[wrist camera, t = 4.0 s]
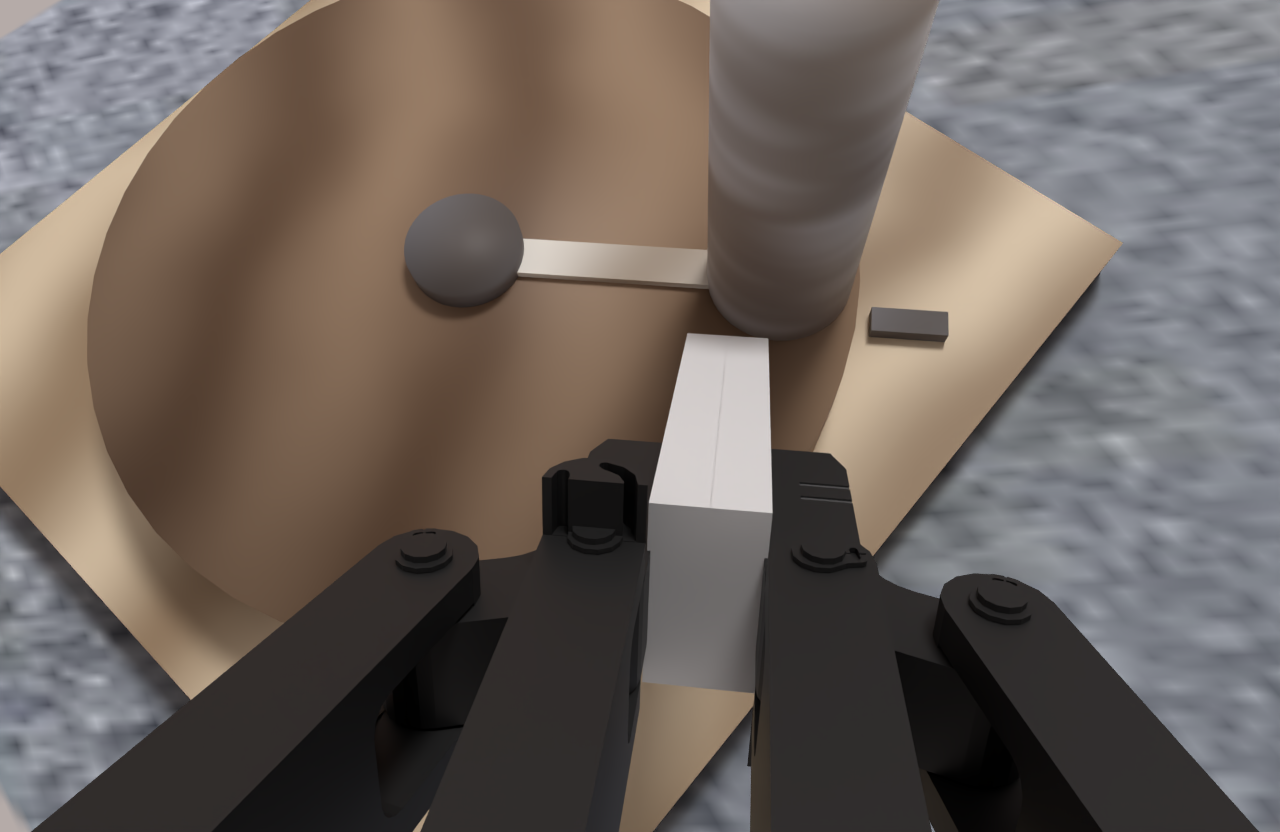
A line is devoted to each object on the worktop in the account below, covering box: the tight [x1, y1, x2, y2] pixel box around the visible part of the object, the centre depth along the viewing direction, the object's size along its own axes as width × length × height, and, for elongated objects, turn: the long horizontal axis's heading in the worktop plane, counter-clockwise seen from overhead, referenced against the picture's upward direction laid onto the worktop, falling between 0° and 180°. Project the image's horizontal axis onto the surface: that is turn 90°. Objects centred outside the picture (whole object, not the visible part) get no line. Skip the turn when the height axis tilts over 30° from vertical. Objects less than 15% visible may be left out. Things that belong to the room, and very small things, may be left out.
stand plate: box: [0, 0, 1123, 832], centre depth 27 cm, size 25×25×2 cm
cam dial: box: [87, 0, 939, 623], centre depth 20 cm, size 20×20×12 cm
